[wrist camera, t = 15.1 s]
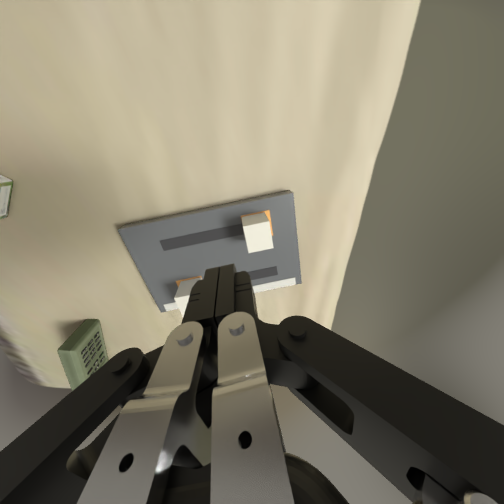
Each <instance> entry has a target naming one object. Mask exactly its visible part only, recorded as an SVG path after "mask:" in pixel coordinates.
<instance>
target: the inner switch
mask: <svg viewBox="0 0 504 504" xmlns="http://www.w3.org/2000/svg"><path fill="white" fill-rule="evenodd" d="M242 224H243V230H244V234H245V239H246V243H247V248H248V252H249V253H253V252H257V251H262V250H267V249H272V248H274V247H273V241H272V235H271V228H270V222H269V219H268V218H267V216H266V214H265V212H263V213H258V214H254V215H249V216H244V217H242Z"/></svg>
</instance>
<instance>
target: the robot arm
mask: <svg viewBox="0 0 504 504" xmlns="http://www.w3.org/2000/svg"><path fill="white" fill-rule="evenodd" d="M270 384H274V385H279V386H285V387H288V388H289V390H290V391H291V392H292V393H293V394H294V395H295V396H296V397H297V398H298V399H299V400H301V401H302V402H303V403H304V404H305V405H306V406H307V407H308V408H309V409H310V410H312V411H313V412H314V413H315V414H316V415H317V416H318V417H319V418H321V420H323V421H324V422H325V423H326V424H327V425H328V426H329V427H330V428H331V429H332V430H334V431H335V432H336V433H337V434H338V435H339V436H340V437H341V438H342V439H343V440H345V441H346V442H347V443H348V444H349V445H350V446H351V447H352V448H353V449H354V450H356V451H357V452H358V453H359V454H360V455H361V456H362V457H363V458H364V459H366V460H367V461H368V462H369V463H370V464H371V465H372V466H373V467H374V468H375V469H376V470H378V471H379V472H380V473H381V474H382V475H383V476H384V477H385V478H386V479H388V480H389V481H390V482H391V483H392V484H393V485H394V486H395V487H396V488H397V489H398V490H400V491H401V492H402V493H403V494H404V495H405V496H406V497H407V498H408V499H409V500H411V501H412V502H413V503H412V504H504V425H502V424H500V423H498V422H496V421H495V420H493V419H491V418H489V417H487V416H485V415H484V414H482V413H480V412H478V411H476V410H475V409H473V408H471V407H469V406H467V405H465V404H464V403H462V402H460V401H458V400H456V399H454V398H453V397H451V396H449V395H447V394H445V393H444V392H442V391H440V390H438V389H436V388H435V387H433V386H431V385H429V384H427V383H425V382H424V381H421V380H420V379H418V378H416V377H414V376H413V375H411V374H409V373H407V372H405V371H403V370H402V369H400V368H398V367H396V366H394V365H393V364H391V363H389V362H387V361H385V360H384V359H382V358H380V357H378V356H376V355H374V354H373V353H371V352H369V351H367V350H365V349H363V348H362V347H360V346H358V345H356V344H354V343H353V342H351V341H349V340H347V339H345V338H343V337H341V336H340V335H338V334H336V333H334V332H333V331H331V330H329V329H327V328H325V327H323V326H322V325H320V324H318V323H316V322H314V321H312V320H311V319H309V318H307V317H303V316H291V317H288V318H286V319H284V320H283V321H281V323H280V324H279V325H275V324H268V323H265V322H262V321H261V320H259V319H258V313H257V307H256V300H255V295H254V290H253V286H252V282H251V278H250V275H249V274H248V273H247V272H246V271H241V272H237V271H236V267H235V264H234V263H233V264H229V265H224V266H219V267H214V268H209V269H206V270H205V274H204V279H202V280H198V281H197V282H196V283H195V284H194V286H193V287H192V289H191V292H190V296H189V299H188V303H187V306H186V310H185V313H184V317H183V320H182V323H181V325H179V326H178V327H176V328H175V329H174V330H173V331H172V332H171V333H170V334H169V336H168V338H167V340H166V342H165V344H164V345H163V346H161V347H159V348H157V349H155V350H153V351H151V352H149V353H146V354H143V352H142V351H141V350H140V349H139V348H129V349H126V350H123V351H121V352H119V353H118V354H116V355H115V356H114V357H112V358H111V359H110V360H109V361H108V362H106V363H105V364H104V365H103V366H102V367H100V368H99V369H98V370H97V371H96V372H95V373H93V374H92V375H91V376H90V377H89V378H87V379H86V380H85V381H84V382H83V383H81V384H80V385H79V386H78V387H77V388H76V389H74V390H73V391H72V392H71V393H70V394H68V395H67V396H66V397H65V398H64V399H62V400H61V401H60V402H59V403H58V404H57V405H55V406H54V407H53V408H52V409H51V410H49V411H48V412H47V413H46V414H45V415H44V416H42V417H41V418H40V419H39V420H38V421H36V422H35V423H34V424H33V425H32V426H31V427H29V428H28V429H27V430H26V431H24V432H23V433H22V434H21V435H20V436H18V437H17V438H16V439H15V440H14V441H13V442H11V443H10V444H9V445H8V446H7V447H5V448H4V449H3V450H2V451H1V452H0V504H349V503H348V502H347V500H346V499H345V498H344V497H343V496H342V495H341V493H340V492H339V491H338V490H337V489H336V487H335V486H334V485H333V484H332V483H331V482H330V481H329V480H328V479H327V478H326V477H325V476H324V475H323V474H322V473H321V472H320V471H319V470H318V469H317V468H315V467H314V466H312V465H311V464H309V463H308V462H307V461H305V460H303V459H301V458H300V457H298V456H295V455H292V454H290V453H286V450H285V445H284V441H283V437H282V433H281V428H280V424H279V420H278V416H277V412H276V408H275V403H274V398H273V394H272V390H271V385H270ZM118 405H119V406H121V408H122V411H121V413H119V414H118V415H117V416H116V418H115V419H114V420H113V421H112V422H111V423H110V424H109V425H108V426H107V427H106V428H105V429H104V430H103V431H102V432H101V433H100V434H99V436H98V437H96V439H95V440H94V441H93V442H92V443H91V444H90V445H88V446H87V447H86V448H84V449H82V450H78V451H75V449H76V448H77V447H78V446H79V445H80V444H81V443H82V442H83V441H84V440H85V439H86V438H87V437H88V436H89V435H90V434H91V433H92V432H93V431H94V430H95V429H96V428H97V427H98V426H99V425H100V424H101V423H102V422H103V421H104V420H105V419H106V418H107V417H108V416H109V415H110V414H111V412H112V411H113V410H114V409H115V408H116V407H117V406H118Z"/></svg>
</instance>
